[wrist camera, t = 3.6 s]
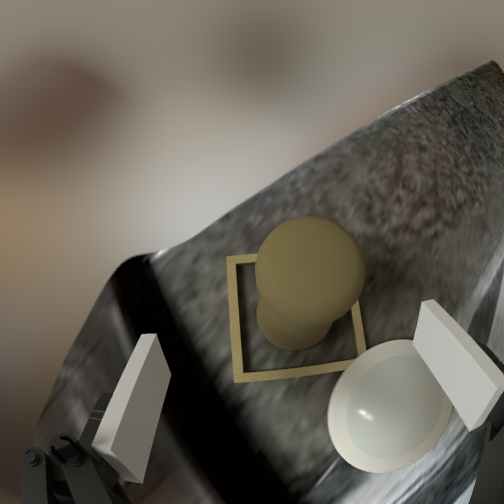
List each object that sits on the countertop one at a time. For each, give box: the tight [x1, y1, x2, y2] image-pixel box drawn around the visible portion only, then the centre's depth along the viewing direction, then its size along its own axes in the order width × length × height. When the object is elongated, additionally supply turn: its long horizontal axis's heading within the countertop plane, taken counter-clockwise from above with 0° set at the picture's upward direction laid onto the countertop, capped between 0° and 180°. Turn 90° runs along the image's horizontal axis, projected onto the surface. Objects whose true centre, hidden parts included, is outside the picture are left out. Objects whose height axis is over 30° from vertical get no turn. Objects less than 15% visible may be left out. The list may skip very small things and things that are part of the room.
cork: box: [255, 216, 366, 351], centre depth 17 cm, size 6×6×11 cm
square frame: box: [227, 253, 366, 383], centre depth 21 cm, size 10×10×1 cm
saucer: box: [327, 339, 453, 473], centre depth 17 cm, size 11×11×1 cm
